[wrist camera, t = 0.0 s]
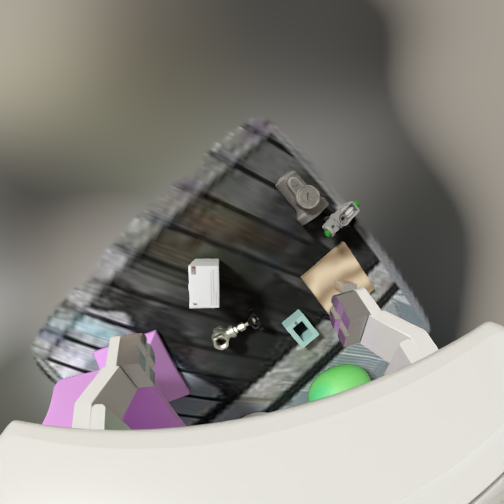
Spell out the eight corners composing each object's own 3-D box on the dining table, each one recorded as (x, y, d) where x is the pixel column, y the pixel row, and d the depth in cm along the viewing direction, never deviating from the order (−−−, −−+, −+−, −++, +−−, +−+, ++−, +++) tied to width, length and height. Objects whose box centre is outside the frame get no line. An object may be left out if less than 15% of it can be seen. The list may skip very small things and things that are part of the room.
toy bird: (356, 348, 73) (382, 370, 59) (360, 391, 75) (382, 416, 61) (297, 369, 71) (315, 398, 57) (306, 412, 73) (322, 442, 59)
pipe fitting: (325, 207, 67) (337, 203, 57) (300, 227, 68) (308, 226, 57) (294, 169, 67) (301, 158, 56) (269, 188, 67) (272, 181, 57)
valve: (219, 346, 68) (261, 324, 69) (220, 358, 61) (266, 334, 62) (206, 325, 67) (249, 302, 68) (205, 335, 60) (253, 310, 61)
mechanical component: (308, 228, 68) (324, 229, 58) (336, 201, 68) (354, 198, 58) (316, 237, 68) (332, 240, 58) (343, 210, 68) (362, 208, 59)
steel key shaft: (348, 280, 69) (357, 284, 64) (347, 288, 69) (356, 292, 64) (334, 279, 68) (343, 283, 63) (333, 287, 68) (341, 291, 64)
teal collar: (314, 329, 70) (319, 335, 66) (298, 342, 70) (302, 348, 66) (298, 309, 69) (303, 314, 65) (281, 322, 69) (285, 328, 65)
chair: (196, 393, 68) (193, 536, 24) (129, 411, 66) (88, 532, 22) (158, 322, 65) (97, 453, 21) (89, 347, 63) (0, 452, 18)
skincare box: (219, 291, 66) (221, 310, 52) (194, 292, 65) (189, 310, 51) (219, 256, 65) (220, 265, 51) (193, 256, 65) (187, 266, 50)
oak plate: (371, 287, 72) (374, 288, 70) (334, 321, 71) (336, 323, 70) (341, 241, 69) (344, 241, 68) (300, 277, 69) (302, 278, 67)
